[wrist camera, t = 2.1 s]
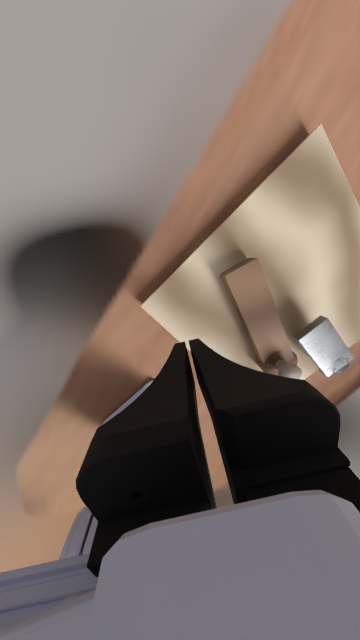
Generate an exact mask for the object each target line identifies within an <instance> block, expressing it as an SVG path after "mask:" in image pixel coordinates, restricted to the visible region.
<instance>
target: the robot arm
mask: <svg viewBox="0 0 360 640" xmlns="http://www.w3.org/2000/svg"><path fill="white" fill-rule="evenodd" d="M189 346H190V350H191V354H192V358H193V363H194V367H195V371H196V375H197V379H198V383H199V386H200V388H201V391H202V394H203V397H204V399H205V402H206V405H207V408H208V410H209V413H210V416H211V419H212V422H213V426H214V430H215V433H216V437H217V441H218V445H219V448H220V452H221V456H222V460H223V464H224V467H225V471H226V475H227V479H228V483H229V487H230V490H231V494H232V498H233V502H234V505H230V506H225V507H221V508H217V507H216V502H215V498H214V493H213V488H212V483H211V478H210V473H209V469H208V464H207V459H206V454H205V449H204V444H203V439H202V434H201V429H200V424H199V417H198V408H197V399H196V389H195V382H194V377H193V373H192V368H191V364H190V360H189V356H188V352H187V348H186V344H185V341H184V342H180V343H176V344H175V345H174V347H173V349H172V351H171V354H170V356H169V358H168V359H167V361H166V363H165V365H164V366H163V368H162V370H161V371H160V373H159V374H158V376H157V377H156V378H155V379H154V380H151V381H149V382H148V383H147V384H146V385H144V386H143V387H142V388H141V389H140V390H139V391H138V392H136V393H135V394H134V395H133V396H132V397H131V398H130V399H128V400H127V401H126V402H125V403H124V404H123V405H122V406H121V407H119V408H118V409H117V410H116V411H115V412H114V413H113V414H111V415H110V416H109V417H108V418H107V419H106V420H105V421H104V422H103V425H102V426H100V427H99V428H97V431H96V433H95V435H94V437H93V439H92V441H91V443H90V446H89V448H88V451H87V454H86V456H85V459H84V461H83V464H82V466H81V469H80V471H79V473H78V476H77V478H76V489H77V491H78V493H79V495H80V497H81V499H82V501H83V502H84V503H85V505H86V506H85V507H84V508H83V509H82V510H81V511H80V512H79V513H78V514H77V516H76V518H75V519H74V522H73V524H72V526H71V529H70V531H69V533H68V536H67V539H66V541H65V544H64V546H63V549H62V552H61V555H60V557H59V560H56V561H52V562H47V563H43V564H39V565H34V566H29V567H25V568H20V569H16V570H11V571H7V572H2V573H0V640H360V480H359V478H358V477H357V476H356V475H355V474H354V473H353V472H352V470H351V469H350V468H349V467H348V466H350V461H349V459H348V458H347V457H346V456H345V455H344V454H343V453H342V452H341V450H340V449H339V448H338V439H339V431H340V414H339V412H338V410H337V408H336V407H335V406H334V405H333V404H332V403H331V402H330V401H329V400H328V399H326V398H325V397H324V396H323V395H322V394H321V393H320V392H319V391H318V390H317V389H315V388H314V387H313V386H312V385H310V384H309V383H308V382H306V381H305V380H301V379H295V378H289V377H283V376H277V375H273V374H269V373H265V372H261V371H257V370H254V369H251V368H248V367H245V366H242V365H240V364H237V363H235V362H233V361H231V360H229V359H227V358H225V357H223V356H221V355H220V354H218V353H217V352H215V351H214V350H212V349H211V348H209V347H208V346H207V345H206V344H204V343H203V342H202V341H201V340H200V339H198V338H197V339H193V340H189Z"/></svg>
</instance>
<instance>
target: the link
mask: <svg viewBox="0 0 360 640" xmlns="http://www.w3.org/2000/svg"><path fill="white" fill-rule="evenodd" d="M219 275H220V277H221V279H222V281H223V284H224V286H225V288H226V290H227V292H228V295H229V297H230V299H231V301H232V303H233V306H234V308H235V310H236V312H237V314H238V317H239V319H240V321H241V323H242V325H243V328H244V330H245V332H246V334H247V336H248V339H249V341H250V343H251V345H252V347H253V350H254V352H255V354H256V363H257V365H258V366H259V367H260V368H261V370H262V371H263V372H265V373H269V374H273V375H277V376H283V377H289V378H295V379H300V377H301V375H302V370H301V368H300V367H298V366H297V363H298V358H297V355H296V354H295V353H294V352H293V351H292V350H291V348H290V345H289V342H288V339H287V337H286V334H285V331H284V328H283V326H282V323H281V320H280V317H279V315H278V312H277V309H276V306H275V303H274V301H273V298H272V295H271V292H270V290H269V287H268V284H267V281H266V279H265V276H264V273H263V270H262V268H261V265H260V262H259V259H258V258H248V259H246V260H244V261H242V262H241V263H239V264H237V265H235V266H233V267H232V268H230V269H228V270H226V271H224V272H223V273H221V274H219Z"/></svg>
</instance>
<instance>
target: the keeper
mask: <svg viewBox="0 0 360 640" xmlns="http://www.w3.org/2000/svg"><path fill="white" fill-rule="evenodd" d="M293 338H294V339H295V340H296V342H297V343H298V344H299V345H300V347H301V348H302V349H303V350H304V352H305V353H306V355H307V356H308V357H309V358H310V359H311V360H312V362H313V363H314V364H315V365H316V367H317V368H318V369H319V370H320V372H321V373H323V374H324V375H325V376H327V377H329V376H330V375H332V374H340V373H342V372H344V371H345V370H346V369H347V368H348V366H349V363H350V362H351V361H352V360H354V359H355V358H354V356H353V355H352V353H351V352H350V350H349V349H348V347H347V346H346V344H345V343H344V341H343V340H342V338H341V337H340V335H339V334H338V332H337V331H336V329H335V328H334V326H333V325H332V323H331V322H330V320H329V319H328V318H326V317H323V316H321V315H320V316H319V317H318V318H316V319H315V320H314V321H313V322H311V323H310V324H309V325H307V326H306V327H305V328H304V329H302V330H301V331H300V332H298V333H297V334H296V335H295V336H293Z"/></svg>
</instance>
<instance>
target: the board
mask: <svg viewBox="0 0 360 640" xmlns="http://www.w3.org/2000/svg"><path fill="white" fill-rule="evenodd" d="M248 258H258V259H259V262H260V265H261V268H262V270H263V273H264V276H265V279H266V281H267V284H268V287H269V290H270V292H271V295H272V298H273V301H274V303H275V306H276V309H277V312H278V315H279V317H280V320H281V323H282V326H283V328H284V331H285V334H286V337H287V339H288V342H289V345H290V348H291V350H292V351H293V352H294V353H295V354H296V355H297V358H298V363H297V366H298V367H300V368H301V370H302V375H301V377H300V379H301V380H304V379H305V378H307V377H308V376H310V375H311V374H312V373H314V372H315V371H317V370H318V368H317V367H316V365H315V364H314V363H313V362H312V360H311V359H310V358H309V357H308V356H307V355H306V353H305V352H304V350H303V349H302V348H301V347H300V345H299V344H298V343H297V342H296V340H295V339H294V338H293V336H295V335H296V334H297V333H298V332H300V331H301V330H302V329H304V328H305V327H306V326H307V325H309V324H310V323H311V322H313V321H314V320H315V319H316V318H318V317H319V316H320V315H321V316H323V317H326V318H328V319H329V320H330V322H331V323H332V325H333V326H334V328H335V329H336V331H337V332H338V334H339V335H340V337H341V338H342V340H343V341H344V343H345V344H346V346H347V347H348V348H349V347H350V346H352V345H353V344H355V343H356V342H357V341H359V340H360V206H359V204H358V201H357V199H356V197H355V195H354V193H353V191H352V189H351V186H350V184H349V182H348V180H347V178H346V176H345V174H344V171H343V169H342V167H341V165H340V163H339V161H338V159H337V156H336V154H335V152H334V150H333V148H332V146H331V144H330V141H329V139H328V137H327V135H326V133H325V131H324V129H323V126H322V124H320V125H319V126H318V127H317V128H316V129H315V130H314V131H312V132H311V133H310V134H309V135H308V136H307V137H306V138H305V139H304V140H303V141H302V142H301V143H300V144H299V145H298V146H297V147H296V148H295V149H294V150H293V151H292V152H291V153H290V154H289V155H288V156H287V157H286V158H285V159H284V160H283V161H282V162H281V163H280V164H279V165H278V166H277V167H276V168H275V169H274V170H273V171H272V172H271V173H270V174H269V175H268V176H267V177H266V179H265V180H264V181H263V182H262V183H261V184H260V185H259V186H258V187H257V188H256V189H255V190H254V191H253V192H252V193H251V194H250V195H249V196H248V197H247V198H246V199H245V200H244V201H243V202H242V203H241V204H240V205H239V206H238V207H237V208H236V209H235V210H234V211H233V212H232V213H231V214H230V215H229V216H228V217H227V218H226V219H225V220H224V221H223V222H222V223H221V224H220V225H219V226H218V227H217V228H216V229H215V230H214V231H213V232H212V233H211V234H210V235H209V236H208V237H207V238H206V239H205V240H204V241H203V242H202V243H201V244H200V245H199V246H198V247H197V248H196V249H195V250H194V251H193V252H192V253H191V254H190V256H189V257H188V258H187V259H186V260H185V261H184V262H183V263H182V264H181V265H180V266H179V267H178V268H177V269H176V270H175V271H174V272H173V273H172V274H171V275H170V276H169V277H168V278H167V279H166V280H165V281H164V282H163V283H162V284H161V285H160V286H159V287H158V288H157V289H156V290H155V291H154V292H153V293H152V294H151V295H150V296H149V297H148V298H147V299H146V300H145V301H144V302H143V303H142V305H141V307H142V308H143V309H144V310H145V311H146V312H147V313H148V314H150V315H151V316H152V317H153V318H154V319H155V320H156V321H157V322H158V323H160V324H161V325H162V326H163V327H164V328H165V329H166V330H167V331H168V332H169V333H171V334H172V335H173V336H174V337H175V338H176V339H177V340H178V341H179V342H184V341H185V344H186V348H187V349H188V350H189V351H190V352H191V350H190V346H189V340H193V339H197V338H198V339H200V340H201V341H202V342H203V343H204V344H206V345H207V346H208V347H209V348H211V349H212V350H214V351H215V352H217V353H218V354H220V355H221V356H223V357H225V358H227V359H229V360H231V361H233V362H235V363H237V364H240V365H242V366H245V367H248V368H251V369H254V370H257V371H261V372H263V371H262V370H261V368H260V367H259V366H258V365H257V363H256V354H255V352H254V350H253V347H252V345H251V343H250V341H249V339H248V336H247V334H246V332H245V330H244V328H243V325H242V323H241V321H240V319H239V317H238V314H237V312H236V310H235V308H234V306H233V303H232V301H231V299H230V297H229V295H228V292H227V290H226V288H225V286H224V284H223V281H222V279H221V277H220V275H219V274H221V273H223V272H224V271H226V270H228V269H230V268H232V267H233V266H235V265H237V264H239V263H241V262H242V261H244V260H246V259H248Z"/></svg>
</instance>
